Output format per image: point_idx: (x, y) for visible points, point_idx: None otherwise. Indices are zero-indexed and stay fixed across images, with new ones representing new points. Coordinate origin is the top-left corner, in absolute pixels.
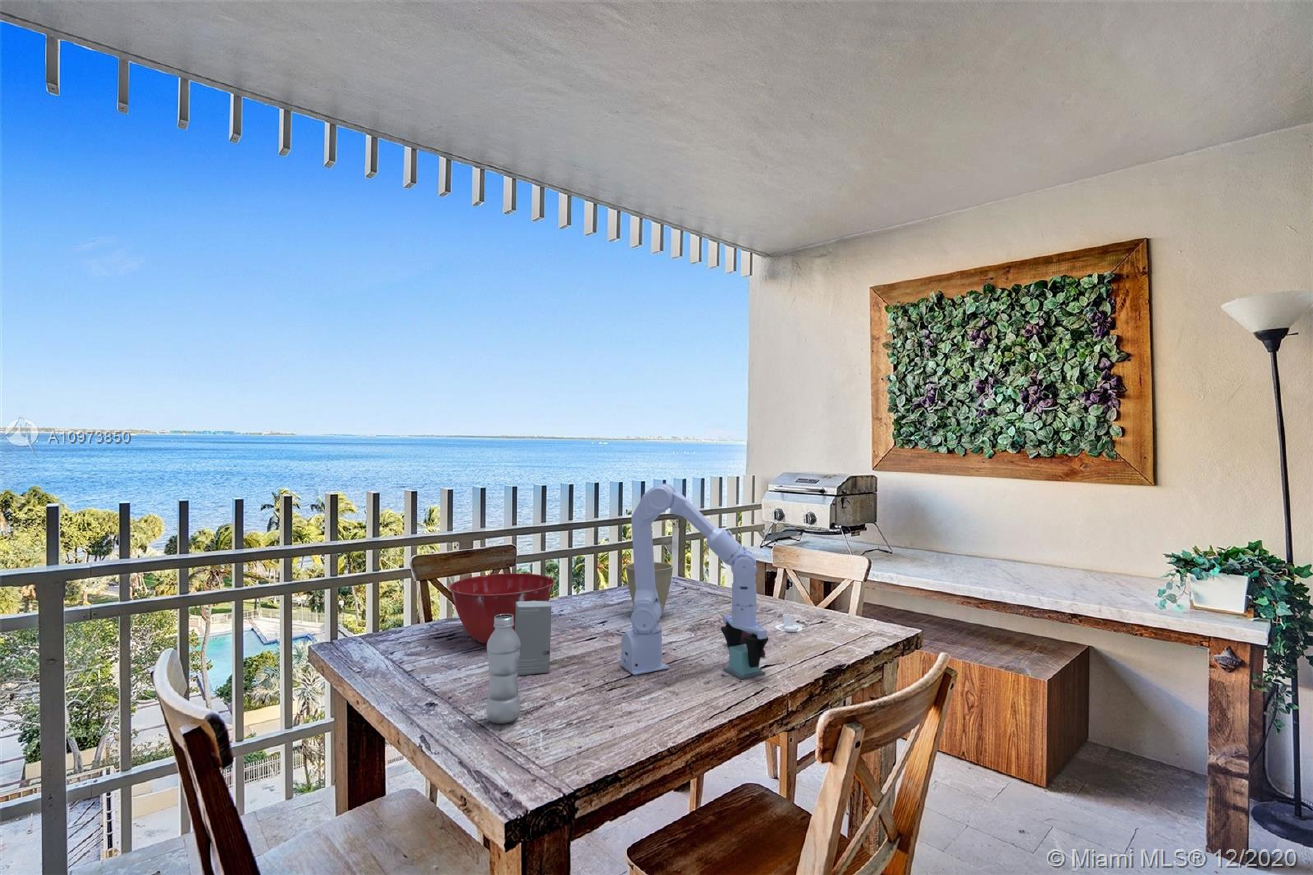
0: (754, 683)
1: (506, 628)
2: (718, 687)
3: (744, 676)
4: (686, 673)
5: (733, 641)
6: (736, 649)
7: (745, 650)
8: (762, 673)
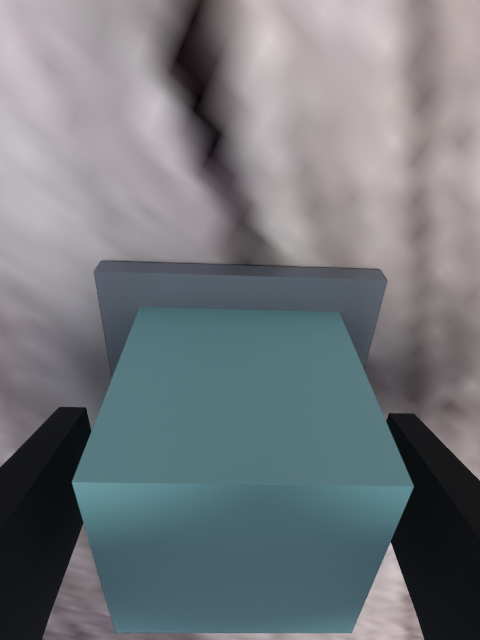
0: (433, 423)
1: None
2: None
3: None
4: (98, 579)
5: (18, 626)
6: (226, 625)
7: (311, 592)
8: (377, 305)
